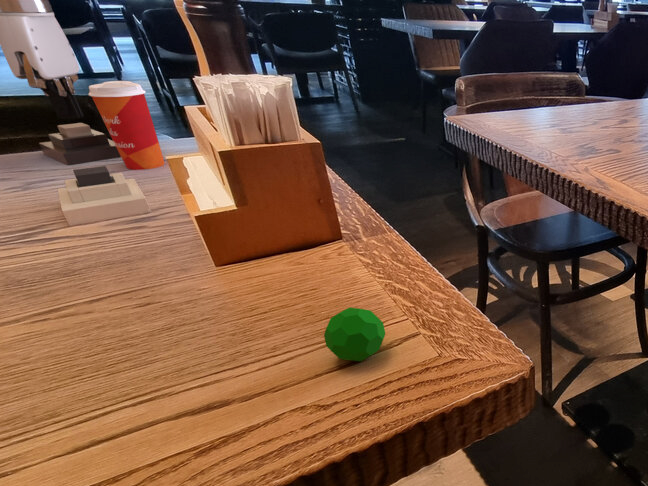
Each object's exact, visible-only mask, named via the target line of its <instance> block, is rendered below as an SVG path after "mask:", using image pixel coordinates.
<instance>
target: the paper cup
mask: <svg viewBox="0 0 648 486" xmlns="http://www.w3.org/2000/svg"><path fill="white" fill-rule="evenodd" d="M88 90H89V92H88V96H89V97H91V98H92V100H93V102H94V104H95V106H96V109H97V110H98V113H99V114H100V117H101V118H102V121H103V123H104V125H105V127H106V129H107V131H108V133H109V136H110V137H111V139H112V141H114V143H115V145H116V147H117V150H118V152H119V154H120V156H121V157H120V158H121V160H122V162H123V163H124V166H125V167H126V169H127V170H130V171H131V170H133V171H141V170H142V171H143V170H152V169H156V168H160V167H164V165H165V160H164V156H163V151H162V148H161V146H160V142H159V138H158V135H157V132H156V128H155V125H154V121H153V118H152V115H151V112H150V109H149V105H148V102H147V99H146V95H145V94H146V93H147V91H146V90H145V89H143V87H142V86H141V85H140V83H135V82H133V83H108V84H102V83H97V84H96V83H95V84H91V85H89V86H88Z"/></svg>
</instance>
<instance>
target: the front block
mask: <svg viewBox="0 0 648 486" xmlns="http://www.w3.org/2000/svg"><path fill="white" fill-rule="evenodd" d="M109 174H110V176H111V179H112V181H113V183H108V184H100V185H93V186H86V187H80V185H79V183H78V181H77V179H76V178H69V179H64V181H63V182H64V184H65V185H64V186H65V187H61V188H57V193H58V198H59V203H60V208H61V212H62V213H63V216H64V217H65V220H66V222H67V224H68V226H69V227H71V226H78V225H84V224H89V223H96V222H103V221H106V220H107V221H108V220H112V219H118V218H124V217H131V216H137V215H141V214H148V213H152V210H151V208H150V205H149V202H148V201H147V198H146V196H145V195H144V193H143V191H142V190H141V188H140V186H139V185H138V183H137V182H136V180H135V178H127V179H126V178H125V176H124V175H123V173H122V172H116V173H109Z"/></svg>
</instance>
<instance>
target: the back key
mask: <svg viewBox="0 0 648 486" xmlns="http://www.w3.org/2000/svg"><path fill="white" fill-rule="evenodd" d="M57 128H58V131H59V133H61V135H62V136H64V137H66V138H70V137H78V136H85V135H93V133H92V131H91V129H92V128H91V127H90V125H88V124H86V123H83V122H77V123H68V124H59V125H57Z"/></svg>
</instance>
